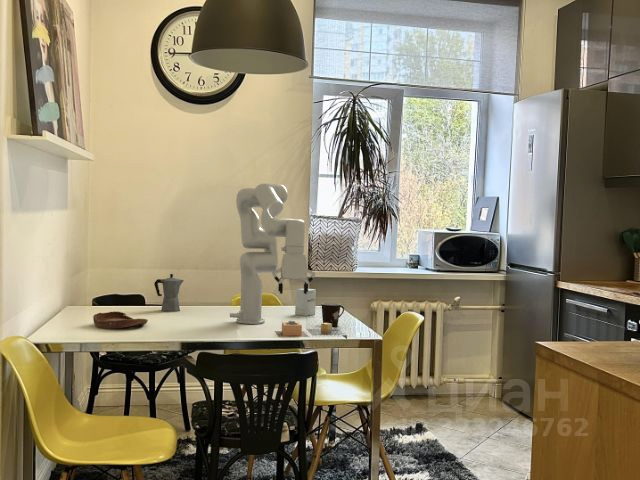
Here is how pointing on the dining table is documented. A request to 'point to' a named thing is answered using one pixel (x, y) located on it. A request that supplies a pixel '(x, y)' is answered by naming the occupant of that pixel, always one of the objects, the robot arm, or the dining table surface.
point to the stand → (291, 335)
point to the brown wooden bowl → (116, 320)
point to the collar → (291, 329)
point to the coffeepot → (169, 293)
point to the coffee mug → (331, 313)
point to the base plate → (327, 330)
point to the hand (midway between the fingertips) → (293, 293)
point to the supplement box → (305, 302)
